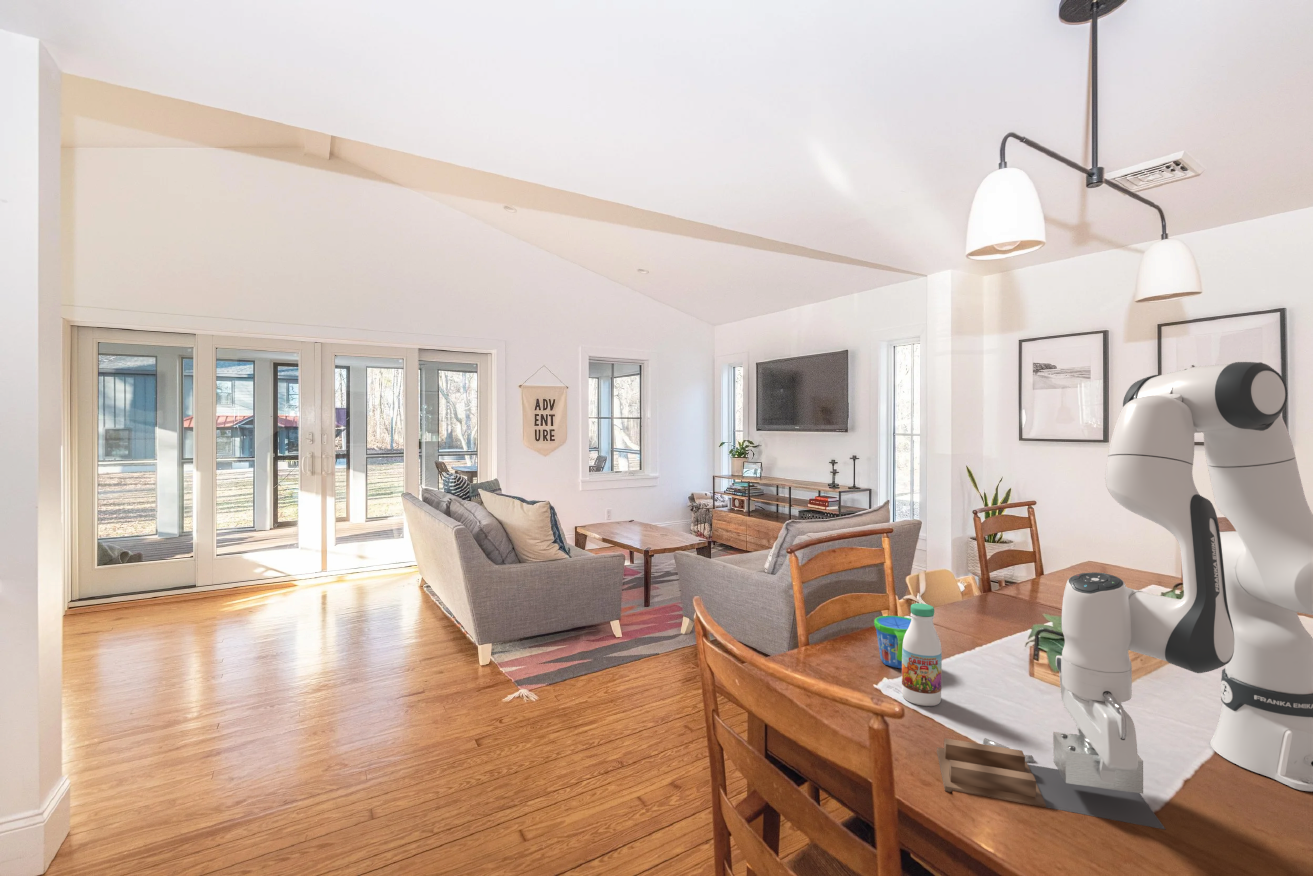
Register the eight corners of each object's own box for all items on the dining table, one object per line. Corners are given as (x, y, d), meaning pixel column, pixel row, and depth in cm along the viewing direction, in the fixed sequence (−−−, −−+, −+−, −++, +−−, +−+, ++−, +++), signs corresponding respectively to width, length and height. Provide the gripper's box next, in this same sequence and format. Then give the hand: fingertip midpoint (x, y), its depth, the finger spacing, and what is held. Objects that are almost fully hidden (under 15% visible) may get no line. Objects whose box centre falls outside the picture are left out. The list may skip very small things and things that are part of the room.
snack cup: (873, 648, 156) (873, 609, 155) (917, 653, 152) (918, 614, 152) (874, 673, 141) (875, 630, 140) (923, 679, 137) (924, 635, 137)
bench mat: (1131, 784, 98) (1131, 781, 98) (1165, 832, 87) (1165, 829, 87) (1019, 765, 104) (1019, 763, 104) (1038, 808, 92) (1038, 805, 92)
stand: (1026, 766, 103) (1026, 747, 103) (1045, 809, 92) (1046, 788, 92) (936, 751, 108) (937, 733, 108) (944, 791, 97) (945, 770, 97)
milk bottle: (896, 690, 132) (897, 600, 131) (931, 690, 132) (933, 600, 131) (909, 707, 124) (911, 611, 124) (947, 707, 124) (949, 612, 123)
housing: (1125, 770, 96) (1125, 734, 96) (1143, 793, 90) (1143, 754, 90) (1053, 761, 99) (1053, 725, 99) (1065, 783, 93) (1065, 745, 93)
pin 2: (1029, 759, 105) (1031, 753, 105) (1033, 766, 104) (1034, 760, 104) (1005, 757, 106) (1006, 751, 105) (1008, 764, 105) (1010, 759, 104)
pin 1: (1008, 756, 107) (1010, 749, 108) (1005, 754, 106) (1007, 746, 107) (985, 746, 110) (987, 739, 111) (982, 744, 110) (984, 737, 110)
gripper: (1151, 713, 83) (1152, 811, 84) (1094, 656, 103) (1095, 735, 103) (1098, 708, 85) (1098, 803, 86) (1052, 652, 105) (1052, 730, 105)
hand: (1096, 765), depth 94 cm, fingers closed on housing, 6 cm apart
